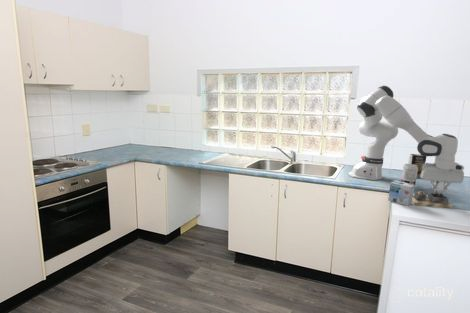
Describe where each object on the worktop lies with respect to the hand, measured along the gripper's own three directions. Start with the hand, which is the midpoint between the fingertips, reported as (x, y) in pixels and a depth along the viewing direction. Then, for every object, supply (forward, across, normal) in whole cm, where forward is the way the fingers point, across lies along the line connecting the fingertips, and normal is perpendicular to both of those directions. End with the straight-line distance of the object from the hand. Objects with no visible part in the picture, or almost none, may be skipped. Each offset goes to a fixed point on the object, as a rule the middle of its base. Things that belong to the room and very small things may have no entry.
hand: (439, 188), depth 174 cm
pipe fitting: (+5, 0, 0) cm, 5 cm away
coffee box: (+9, +8, +57) cm, 58 cm away
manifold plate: (+9, -4, 0) cm, 9 cm away
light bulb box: (+9, -20, -3) cm, 22 cm away
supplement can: (+9, -7, +26) cm, 28 cm away
